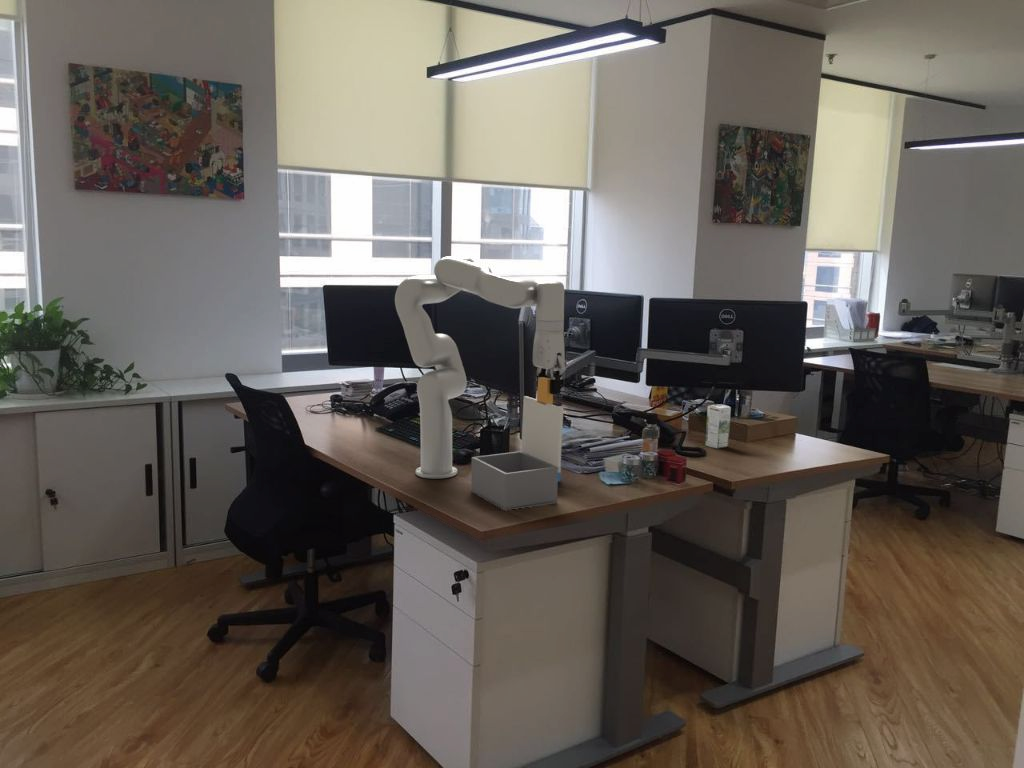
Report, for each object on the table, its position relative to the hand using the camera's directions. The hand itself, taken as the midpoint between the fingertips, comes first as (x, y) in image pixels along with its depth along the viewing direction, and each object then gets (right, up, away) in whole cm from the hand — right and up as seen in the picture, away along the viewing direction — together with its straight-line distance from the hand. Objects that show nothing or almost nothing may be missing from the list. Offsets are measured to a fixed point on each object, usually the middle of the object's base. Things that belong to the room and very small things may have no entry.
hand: (548, 391), depth 236 cm
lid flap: (-2, -8, 0) cm, 8 cm away
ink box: (0, -27, +17) cm, 32 cm away
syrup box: (+62, -20, +62) cm, 90 cm away
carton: (-10, -29, 0) cm, 31 cm away
